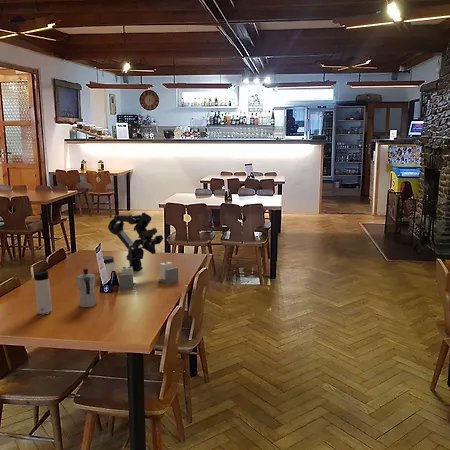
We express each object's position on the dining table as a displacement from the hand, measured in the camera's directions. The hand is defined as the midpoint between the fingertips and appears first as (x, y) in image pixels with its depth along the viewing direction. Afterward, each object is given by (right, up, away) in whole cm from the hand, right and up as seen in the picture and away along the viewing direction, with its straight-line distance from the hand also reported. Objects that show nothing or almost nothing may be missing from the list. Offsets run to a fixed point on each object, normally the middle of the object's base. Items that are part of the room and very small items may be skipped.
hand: (154, 253), depth 272 cm
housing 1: (-12, -17, -15) cm, 26 cm away
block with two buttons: (-12, -15, -14) cm, 24 cm away
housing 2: (+9, -15, -7) cm, 19 cm away
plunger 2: (+8, -13, -6) cm, 17 cm away
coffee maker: (-26, -23, -42) cm, 54 cm away
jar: (-27, -14, +2) cm, 31 cm away
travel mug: (-43, -25, -51) cm, 71 cm away
